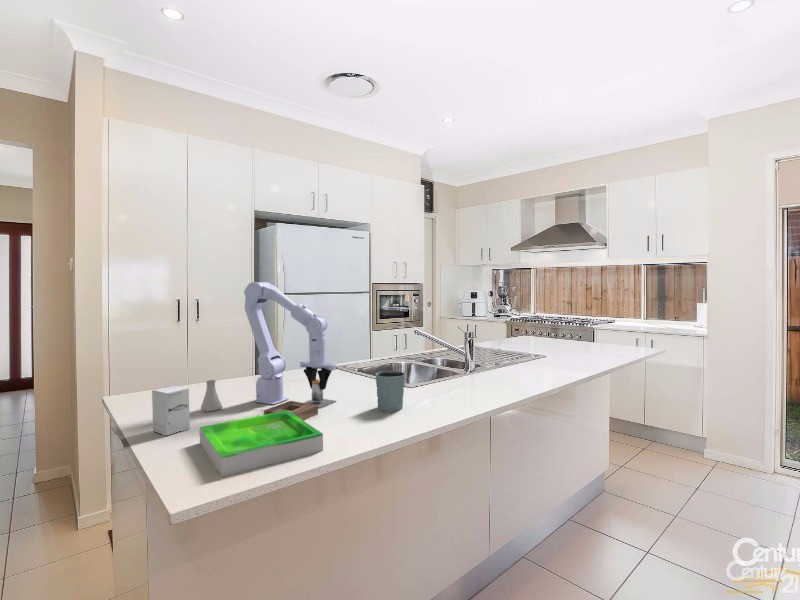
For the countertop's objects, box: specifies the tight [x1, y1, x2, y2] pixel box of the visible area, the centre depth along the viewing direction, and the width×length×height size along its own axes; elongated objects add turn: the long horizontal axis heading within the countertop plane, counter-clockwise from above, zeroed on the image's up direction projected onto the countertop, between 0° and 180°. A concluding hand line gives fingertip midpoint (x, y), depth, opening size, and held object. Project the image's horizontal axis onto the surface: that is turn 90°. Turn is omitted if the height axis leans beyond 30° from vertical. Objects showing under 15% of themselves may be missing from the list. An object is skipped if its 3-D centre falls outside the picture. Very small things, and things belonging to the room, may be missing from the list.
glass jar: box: [311, 378, 324, 401], centre depth 155 cm, size 4×4×7 cm
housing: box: [263, 400, 319, 421], centre depth 141 cm, size 12×12×3 cm
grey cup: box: [375, 370, 406, 413], centre depth 149 cm, size 10×10×12 cm
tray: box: [198, 410, 324, 477], centre depth 116 cm, size 25×25×5 cm
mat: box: [303, 398, 337, 409], centre depth 156 cm, size 9×9×1 cm
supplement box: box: [151, 385, 191, 437], centre depth 128 cm, size 7×7×13 cm
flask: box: [200, 379, 224, 413], centre depth 150 cm, size 7×7×10 cm
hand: (318, 388), depth 155 cm, fingers closed on glass jar, 4 cm apart
